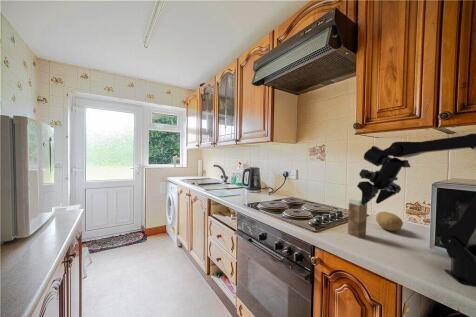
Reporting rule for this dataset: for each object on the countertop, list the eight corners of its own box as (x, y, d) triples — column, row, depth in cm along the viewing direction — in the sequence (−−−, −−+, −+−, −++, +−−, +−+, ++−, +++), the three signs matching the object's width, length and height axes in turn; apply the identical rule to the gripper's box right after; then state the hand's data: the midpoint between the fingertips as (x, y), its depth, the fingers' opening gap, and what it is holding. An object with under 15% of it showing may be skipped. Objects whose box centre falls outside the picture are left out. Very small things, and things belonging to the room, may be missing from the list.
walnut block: (365, 236, 89) (367, 200, 88) (358, 237, 87) (359, 201, 86) (355, 232, 93) (356, 197, 93) (347, 233, 91) (349, 198, 91)
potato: (390, 225, 105) (391, 210, 104) (408, 235, 91) (409, 218, 90) (370, 223, 106) (370, 208, 106) (384, 233, 92) (385, 216, 92)
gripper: (384, 162, 89) (367, 191, 95) (355, 162, 81) (339, 193, 88) (410, 175, 79) (390, 206, 86) (380, 176, 72) (360, 210, 79)
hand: (369, 203), depth 85 cm, fingers open, 9 cm apart
